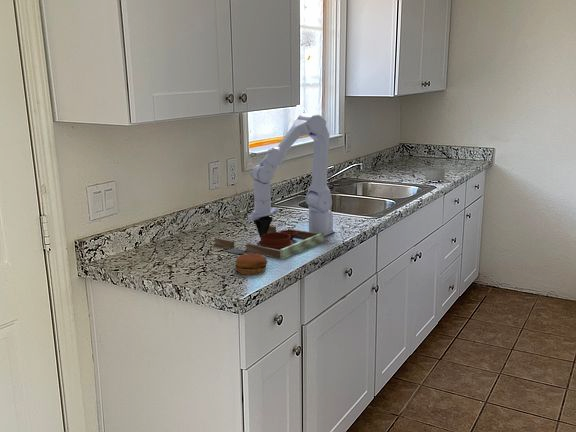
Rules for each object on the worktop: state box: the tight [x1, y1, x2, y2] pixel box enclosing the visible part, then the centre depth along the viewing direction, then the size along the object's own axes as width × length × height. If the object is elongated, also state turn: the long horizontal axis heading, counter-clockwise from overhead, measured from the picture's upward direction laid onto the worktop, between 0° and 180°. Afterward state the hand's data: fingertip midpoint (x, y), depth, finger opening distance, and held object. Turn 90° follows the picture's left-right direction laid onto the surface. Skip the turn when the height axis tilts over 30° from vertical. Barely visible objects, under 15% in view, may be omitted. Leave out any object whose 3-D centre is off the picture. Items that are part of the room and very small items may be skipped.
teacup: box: [424, 166, 446, 181], centre depth 317 cm, size 14×11×8 cm
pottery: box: [257, 229, 298, 250], centre depth 197 cm, size 12×20×4 cm, turn 156°
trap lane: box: [214, 224, 325, 260], centre depth 199 cm, size 25×29×3 cm
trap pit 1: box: [224, 247, 247, 256], centre depth 190 cm, size 4×6×1 cm, turn 55°
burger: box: [234, 252, 268, 276], centre depth 171 cm, size 10×9×5 cm
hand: (263, 237), depth 201 cm, fingers closed
